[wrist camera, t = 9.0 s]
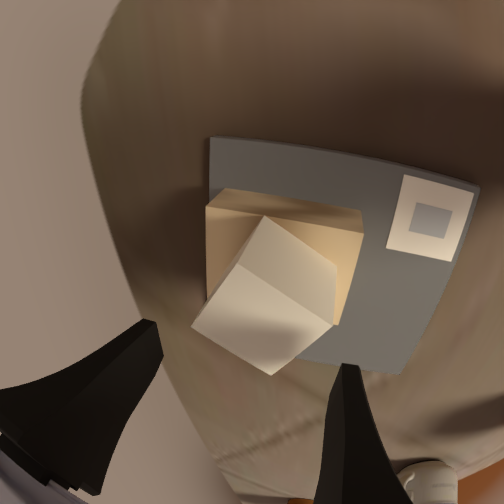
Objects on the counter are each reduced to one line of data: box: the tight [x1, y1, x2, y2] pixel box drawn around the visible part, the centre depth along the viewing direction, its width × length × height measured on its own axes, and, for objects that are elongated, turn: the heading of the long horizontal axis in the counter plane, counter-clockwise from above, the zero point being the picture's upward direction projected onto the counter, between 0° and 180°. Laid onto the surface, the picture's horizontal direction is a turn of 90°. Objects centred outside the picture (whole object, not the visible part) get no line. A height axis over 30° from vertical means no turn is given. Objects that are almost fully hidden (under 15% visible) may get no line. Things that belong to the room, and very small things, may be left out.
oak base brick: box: [206, 188, 364, 325], centre depth 18 cm, size 8×6×3 cm
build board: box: [209, 135, 481, 375], centre depth 20 cm, size 16×16×1 cm
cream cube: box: [191, 215, 337, 375], centre depth 15 cm, size 4×4×4 cm
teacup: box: [397, 461, 458, 504], centre depth 28 cm, size 14×11×8 cm
